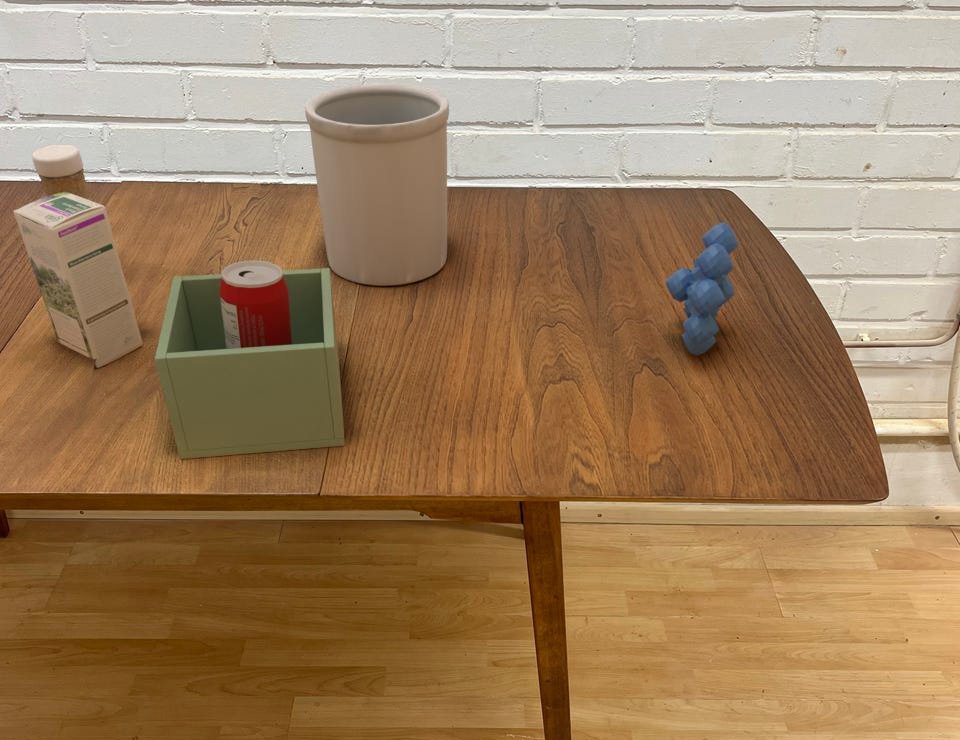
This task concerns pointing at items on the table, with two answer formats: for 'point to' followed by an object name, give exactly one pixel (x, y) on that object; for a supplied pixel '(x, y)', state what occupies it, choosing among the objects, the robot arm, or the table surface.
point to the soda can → (255, 305)
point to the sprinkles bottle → (61, 170)
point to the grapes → (705, 288)
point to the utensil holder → (381, 180)
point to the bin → (250, 373)
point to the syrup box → (80, 275)
